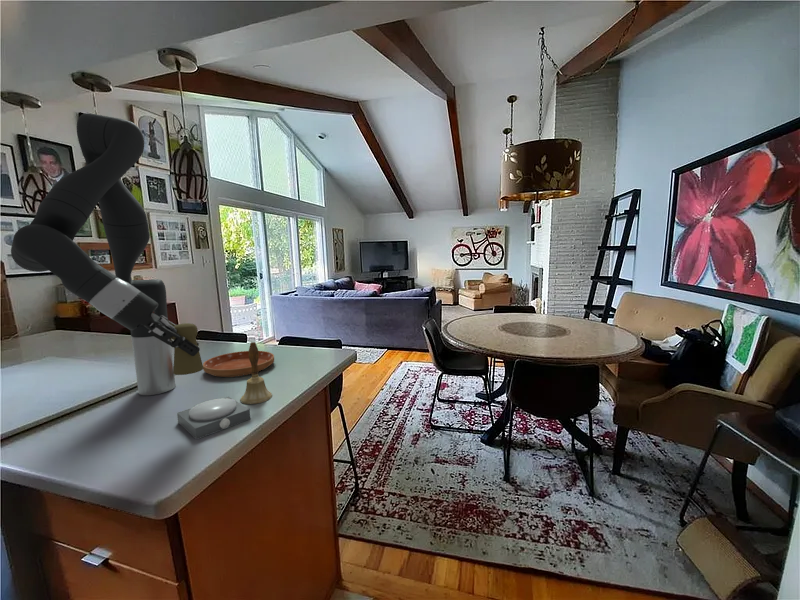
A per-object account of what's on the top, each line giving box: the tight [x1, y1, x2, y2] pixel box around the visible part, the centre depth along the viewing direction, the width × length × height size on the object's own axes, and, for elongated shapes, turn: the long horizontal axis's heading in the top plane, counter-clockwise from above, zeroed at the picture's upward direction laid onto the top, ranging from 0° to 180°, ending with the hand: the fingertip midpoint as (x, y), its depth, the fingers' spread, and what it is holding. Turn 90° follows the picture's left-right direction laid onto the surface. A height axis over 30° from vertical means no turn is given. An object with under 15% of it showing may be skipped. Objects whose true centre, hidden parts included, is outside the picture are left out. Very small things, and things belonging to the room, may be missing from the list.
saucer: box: [202, 350, 275, 378], centre depth 123 cm, size 23×23×4 cm
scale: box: [176, 396, 251, 440], centre depth 84 cm, size 12×12×4 cm
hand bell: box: [239, 341, 273, 405], centre depth 96 cm, size 8×8×16 cm
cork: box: [173, 322, 204, 376], centre depth 80 cm, size 6×6×11 cm
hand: (196, 349), depth 81 cm, fingers closed on cork, 4 cm apart
